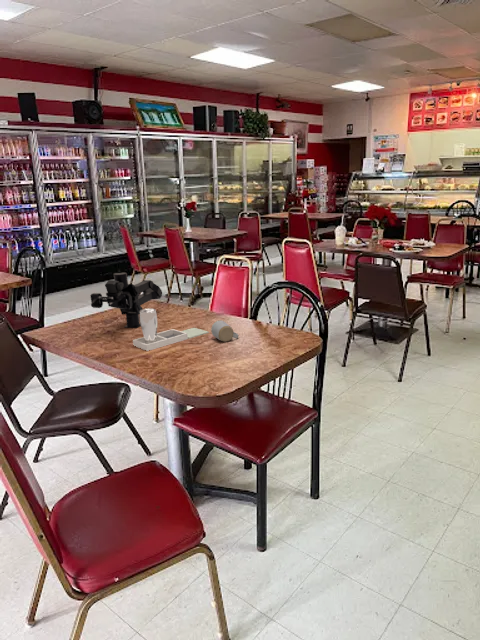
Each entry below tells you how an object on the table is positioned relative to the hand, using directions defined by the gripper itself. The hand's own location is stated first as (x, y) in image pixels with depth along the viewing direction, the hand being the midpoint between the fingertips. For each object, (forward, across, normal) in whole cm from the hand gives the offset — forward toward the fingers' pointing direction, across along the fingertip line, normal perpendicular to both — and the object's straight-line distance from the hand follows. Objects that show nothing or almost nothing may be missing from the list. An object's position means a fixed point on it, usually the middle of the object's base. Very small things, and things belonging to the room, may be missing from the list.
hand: (101, 305), depth 202 cm
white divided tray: (-9, +27, +17) cm, 33 cm away
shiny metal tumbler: (0, +21, +17) cm, 27 cm away
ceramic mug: (-12, +50, +17) cm, 54 cm away
